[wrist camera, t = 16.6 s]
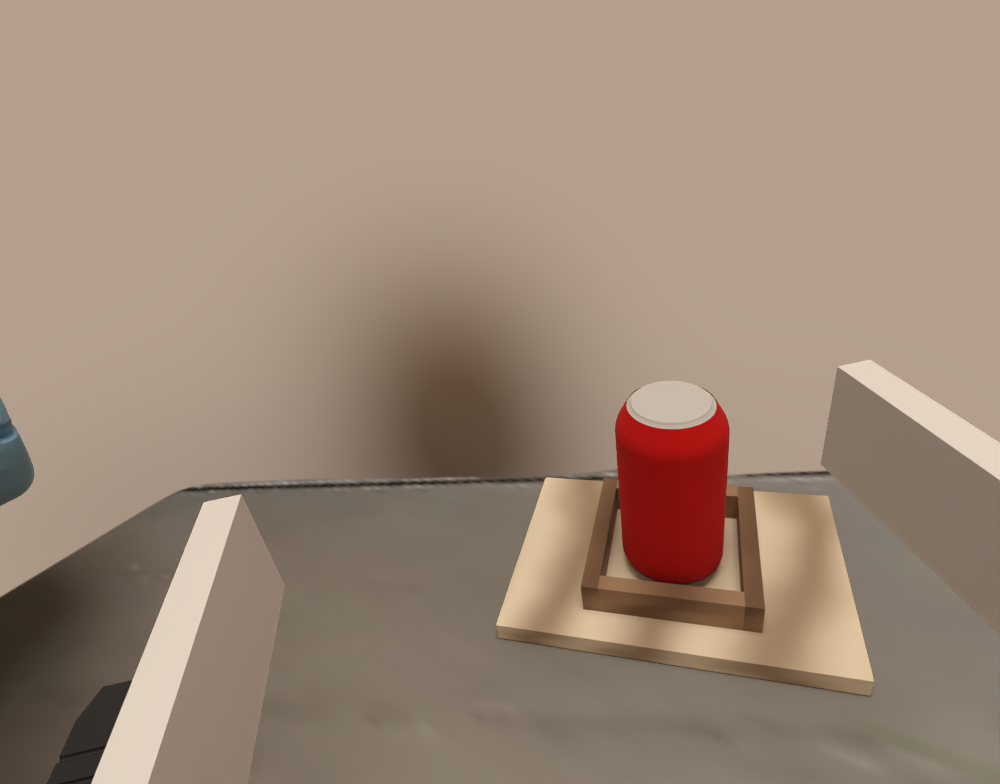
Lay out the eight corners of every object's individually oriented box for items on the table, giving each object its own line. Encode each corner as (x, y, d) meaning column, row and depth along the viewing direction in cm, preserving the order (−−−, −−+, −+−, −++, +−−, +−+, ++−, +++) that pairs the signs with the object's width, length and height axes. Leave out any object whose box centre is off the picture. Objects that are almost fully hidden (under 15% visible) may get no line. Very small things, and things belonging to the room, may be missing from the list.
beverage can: (658, 610, 35) (653, 447, 29) (606, 543, 41) (593, 392, 34) (743, 572, 37) (757, 409, 31) (683, 512, 42) (684, 362, 36)
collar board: (499, 637, 37) (490, 602, 35) (547, 489, 48) (543, 457, 46) (870, 695, 31) (880, 656, 29) (825, 509, 42) (831, 473, 40)
